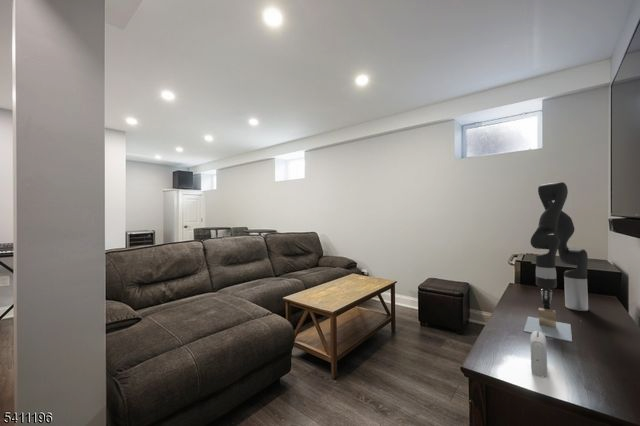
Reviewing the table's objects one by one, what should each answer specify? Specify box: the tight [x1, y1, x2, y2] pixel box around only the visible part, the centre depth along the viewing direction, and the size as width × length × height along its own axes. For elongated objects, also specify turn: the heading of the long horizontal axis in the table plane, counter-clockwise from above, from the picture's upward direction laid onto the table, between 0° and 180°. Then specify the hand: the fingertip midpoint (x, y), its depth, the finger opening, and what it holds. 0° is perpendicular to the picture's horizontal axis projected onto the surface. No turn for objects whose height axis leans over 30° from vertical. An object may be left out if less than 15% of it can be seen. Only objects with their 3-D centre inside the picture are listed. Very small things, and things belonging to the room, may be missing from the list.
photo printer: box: [529, 331, 548, 377], centre depth 92 cm, size 10×4×12 cm, turn 140°
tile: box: [538, 307, 557, 328], centre depth 125 cm, size 2×6×8 cm, turn 49°
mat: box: [523, 316, 573, 343], centre depth 124 cm, size 22×16×1 cm
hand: (547, 312), depth 126 cm, fingers closed
